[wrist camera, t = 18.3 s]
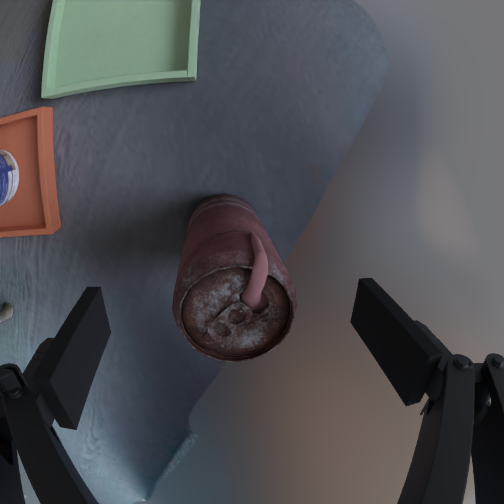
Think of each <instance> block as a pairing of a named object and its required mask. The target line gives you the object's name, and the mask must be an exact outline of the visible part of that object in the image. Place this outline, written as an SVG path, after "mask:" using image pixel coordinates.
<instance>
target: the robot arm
mask: <svg viewBox="0 0 504 504" xmlns="http://www.w3.org/2000/svg"><path fill="white" fill-rule="evenodd" d="M351 324H352V325H353V327H354V328H355V330H356V331H357V333H358V334H359V336H360V337H361V339H362V340H363V342H364V343H365V345H366V346H367V347H368V349H369V350H370V352H371V353H372V355H373V356H374V358H375V359H376V361H377V362H378V364H379V366H380V367H381V369H382V370H383V372H384V373H385V374H386V376H387V378H388V379H389V381H390V382H391V384H392V385H393V387H394V388H395V390H396V392H397V393H398V395H399V396H400V398H401V399H402V401H403V402H404V404H405V405H406V406H409V405H412V404H415V403H418V402H420V401H421V399H422V397H423V395H424V393H426V394H427V395H428V397H429V399H428V400H427V402H426V404H425V406H424V408H423V409H422V411H421V413H420V415H422V414H423V412H424V415H423V420H422V425H421V429H420V433H419V437H418V441H417V445H416V448H415V452H414V455H413V459H412V462H411V465H410V468H409V472H408V475H407V478H406V481H405V484H404V487H403V489H402V492H401V495H400V498H399V500H398V503H397V504H462V503H463V499H464V493H465V489H466V483H467V477H468V471H469V464H470V456H472V463H473V473H474V484H475V499H476V504H504V358H503V356H501V355H499V354H494V353H493V354H489V355H487V357H486V359H485V361H484V363H473V362H472V361H471V360H470V359H469V358H468V357H466V356H463V355H460V354H454V355H452V353H451V352H450V351H449V350H448V349H447V348H446V347H445V346H444V345H443V343H442V342H441V341H440V340H439V339H438V338H436V336H435V335H434V334H433V333H432V332H431V331H430V330H429V329H428V328H427V327H426V326H425V325H424V324H422V323H420V322H419V321H417V320H416V321H413V320H412V319H411V318H410V317H409V316H408V314H406V312H405V311H404V310H403V309H402V308H401V307H400V306H399V305H398V304H397V303H396V302H395V301H394V300H393V299H392V298H391V297H390V296H389V295H388V294H387V293H386V292H385V291H384V290H383V289H382V288H381V287H380V286H379V285H378V284H377V283H376V282H375V281H374V280H373V279H372V278H361V279H359V282H358V288H357V293H356V298H355V303H354V308H353V312H352V318H351ZM110 334H111V330H110V326H109V322H108V318H107V314H106V309H105V305H104V300H103V296H102V291H101V287H87V288H86V289H85V291H84V292H83V294H82V295H81V297H80V298H79V300H78V301H77V303H76V304H75V306H74V308H73V309H72V311H71V312H70V314H69V315H68V317H67V319H66V320H65V322H64V323H63V325H62V327H61V328H60V330H59V332H58V333H57V335H56V336H55V338H47V339H46V340H45V341H44V342H42V343H41V344H40V345H39V347H38V349H37V350H36V353H35V354H34V355H33V357H32V360H30V362H29V364H28V365H27V367H26V369H25V371H24V372H23V374H22V372H21V370H20V368H19V367H18V366H17V365H15V364H10V363H8V364H4V365H2V366H0V504H25V500H24V495H23V490H22V485H21V479H20V472H19V465H18V457H17V450H18V453H19V456H20V458H21V461H22V464H23V466H24V469H25V471H26V473H27V476H28V478H29V480H30V482H31V485H32V487H33V489H34V491H35V493H36V495H37V497H38V499H39V501H40V503H41V504H99V503H98V502H97V501H96V499H95V498H94V496H93V495H92V493H91V492H90V490H89V489H88V487H87V486H86V484H85V483H84V481H83V479H82V478H81V476H80V475H79V473H78V471H77V470H76V468H75V466H74V465H73V463H72V461H71V459H70V458H69V456H68V454H67V452H66V450H65V449H64V447H63V445H62V443H61V441H60V439H59V437H58V435H57V433H56V431H55V429H54V428H53V426H52V424H53V421H54V419H56V421H57V423H58V424H59V426H60V427H62V428H68V429H74V430H77V427H78V424H79V421H80V417H81V414H82V411H83V408H84V405H85V402H86V399H87V396H88V393H89V390H90V387H91V384H92V382H93V379H94V376H95V373H96V370H97V368H98V365H99V362H100V360H101V357H102V354H103V352H104V349H105V347H106V344H107V342H108V339H109V336H110ZM490 399H491V405H490V401H489V400H490Z"/></svg>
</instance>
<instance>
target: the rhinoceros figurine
mask: <svg viewBox="0 0 504 504" xmlns="http://www.w3.org/2000/svg"><path fill="white" fill-rule="evenodd" d="M11 316H13V307H12V305H10V304H9V303H6V302H5V303H3V308H2V310H1V311H0V322H2V321H4V320H5V319H10V318H11Z"/></svg>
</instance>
